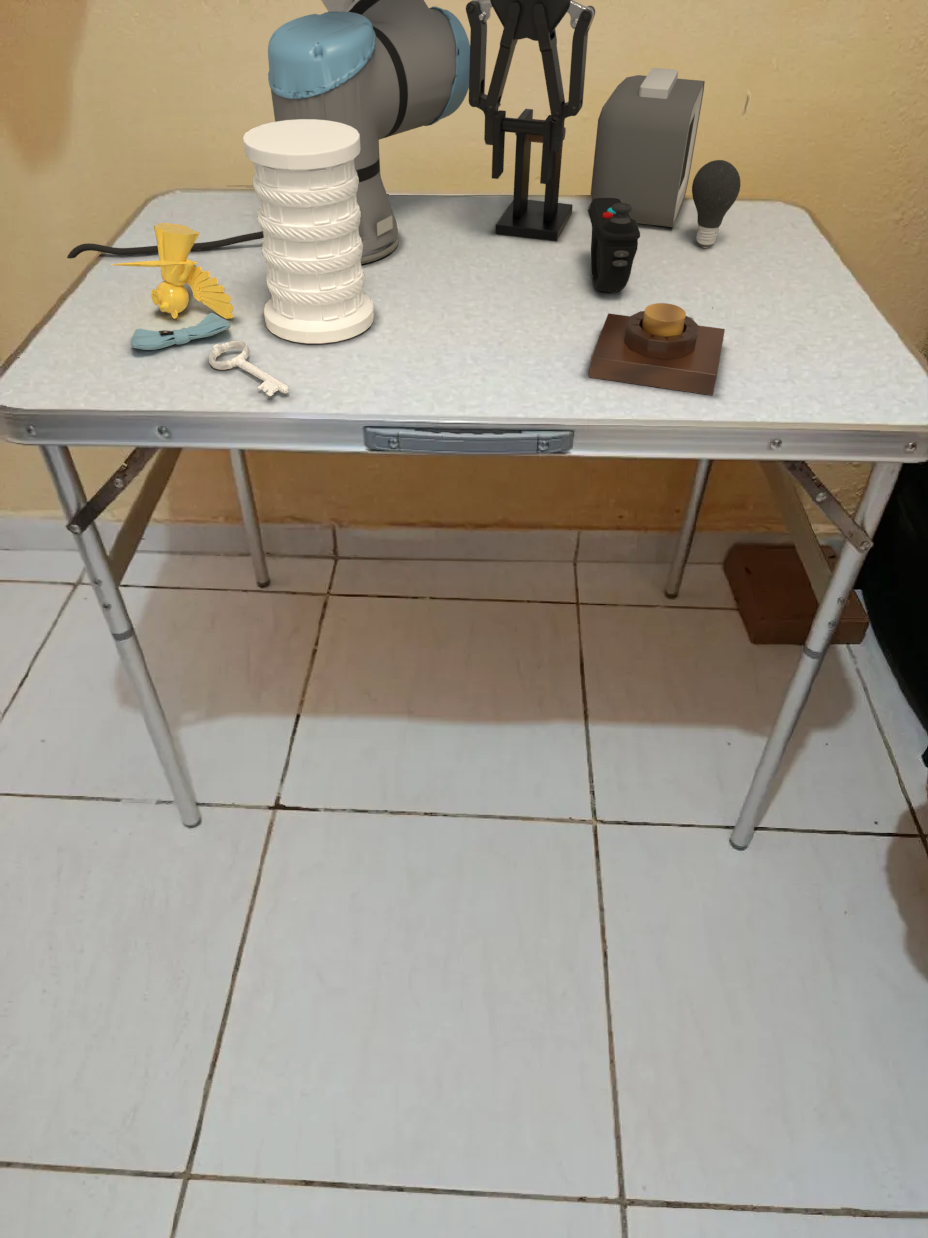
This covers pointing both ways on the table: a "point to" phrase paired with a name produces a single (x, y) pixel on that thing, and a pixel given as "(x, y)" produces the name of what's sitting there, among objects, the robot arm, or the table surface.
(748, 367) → the table surface
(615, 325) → the switch block
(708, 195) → the light bulb
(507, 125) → the lever
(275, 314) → the decorative container
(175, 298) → the figurine
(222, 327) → the bow tie
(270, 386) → the key
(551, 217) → the switch bracket
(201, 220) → the table surface
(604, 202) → the controller
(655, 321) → the power button
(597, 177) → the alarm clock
